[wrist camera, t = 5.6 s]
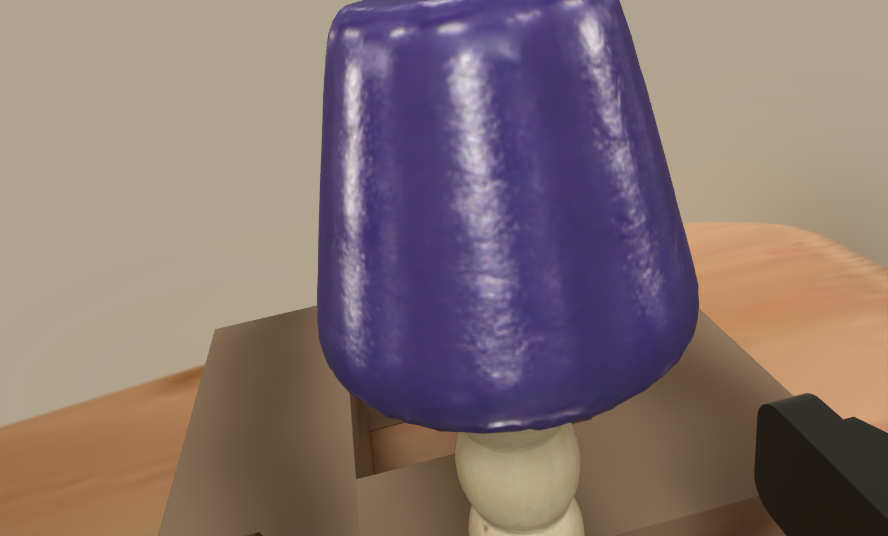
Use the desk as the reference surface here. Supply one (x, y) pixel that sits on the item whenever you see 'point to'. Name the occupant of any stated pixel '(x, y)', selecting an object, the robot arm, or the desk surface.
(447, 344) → the toy lamp
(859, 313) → the desk surface
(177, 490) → the socket block
